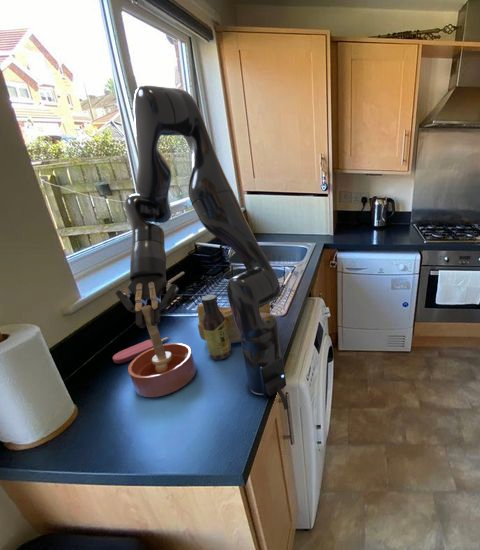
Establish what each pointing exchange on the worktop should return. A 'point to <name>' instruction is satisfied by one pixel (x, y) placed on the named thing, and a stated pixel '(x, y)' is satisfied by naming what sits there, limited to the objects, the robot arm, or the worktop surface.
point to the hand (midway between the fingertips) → (148, 326)
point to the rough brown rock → (230, 323)
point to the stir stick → (156, 339)
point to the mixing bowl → (168, 381)
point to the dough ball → (161, 368)
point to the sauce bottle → (215, 329)
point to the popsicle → (133, 351)
